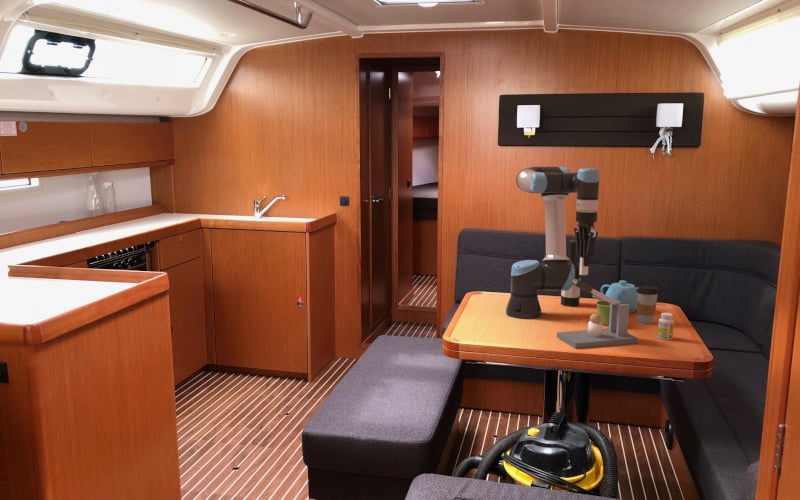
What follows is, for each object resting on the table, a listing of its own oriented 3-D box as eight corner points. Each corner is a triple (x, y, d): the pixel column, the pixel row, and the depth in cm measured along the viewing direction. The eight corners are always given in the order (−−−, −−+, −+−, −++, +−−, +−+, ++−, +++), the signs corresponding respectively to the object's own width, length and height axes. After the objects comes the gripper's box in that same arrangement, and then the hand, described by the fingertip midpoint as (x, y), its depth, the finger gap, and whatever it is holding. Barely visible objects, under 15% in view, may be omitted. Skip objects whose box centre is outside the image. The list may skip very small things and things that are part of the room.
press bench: (556, 337, 247) (558, 302, 245) (616, 332, 253) (618, 297, 251) (575, 348, 234) (577, 311, 231) (637, 343, 240) (640, 306, 238)
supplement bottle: (660, 340, 244) (662, 315, 242) (655, 335, 249) (657, 311, 247) (674, 340, 244) (676, 315, 242) (669, 336, 249) (671, 312, 247)
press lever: (570, 284, 239) (573, 277, 239) (616, 309, 246) (620, 302, 245) (575, 287, 235) (578, 279, 235) (621, 311, 242) (625, 304, 242)
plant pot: (619, 322, 268) (620, 302, 266) (616, 328, 259) (618, 307, 258) (596, 319, 272) (597, 299, 270) (593, 325, 263) (594, 304, 262)
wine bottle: (559, 302, 301) (562, 238, 296) (578, 302, 300) (581, 239, 295) (561, 306, 293) (564, 241, 288) (580, 307, 292) (583, 242, 287)
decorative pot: (595, 307, 292) (596, 278, 290) (627, 305, 296) (628, 276, 294) (614, 316, 277) (616, 285, 274) (647, 314, 280) (649, 283, 278)
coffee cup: (657, 325, 263) (660, 289, 260) (636, 324, 265) (638, 288, 262) (654, 320, 271) (656, 285, 268) (633, 318, 273) (635, 284, 270)
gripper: (568, 209, 239) (565, 271, 243) (586, 213, 226) (583, 278, 230) (586, 209, 241) (583, 270, 244) (605, 212, 228) (602, 277, 232)
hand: (583, 274), depth 237 cm, fingers closed
